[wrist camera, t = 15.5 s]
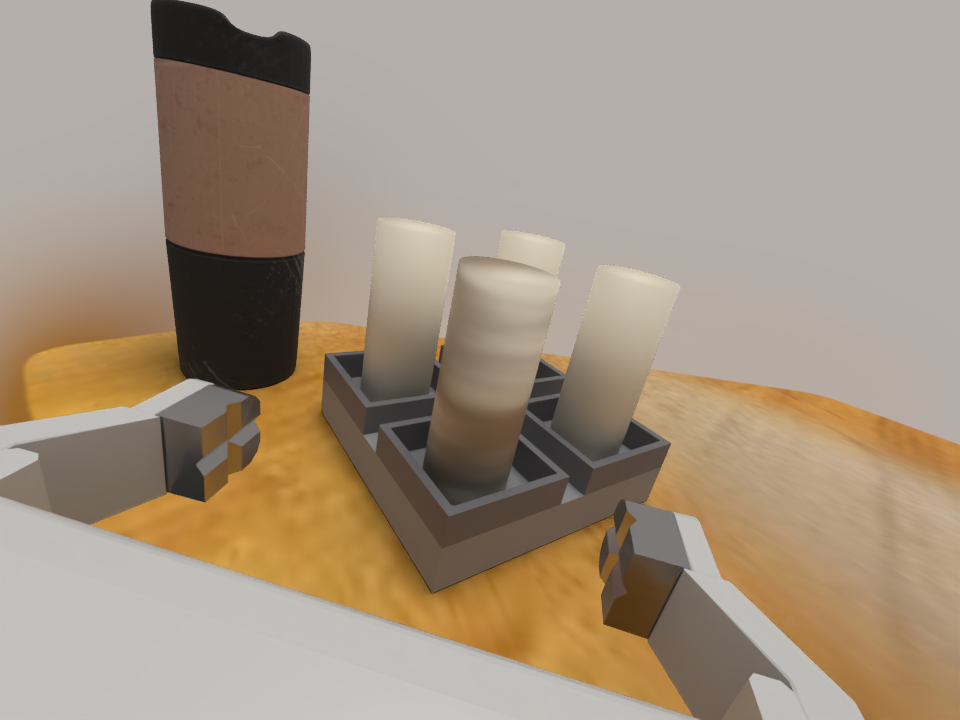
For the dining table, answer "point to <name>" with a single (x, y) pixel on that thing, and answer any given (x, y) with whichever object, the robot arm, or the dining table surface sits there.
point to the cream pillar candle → (487, 374)
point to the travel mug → (232, 191)
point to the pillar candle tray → (548, 420)
